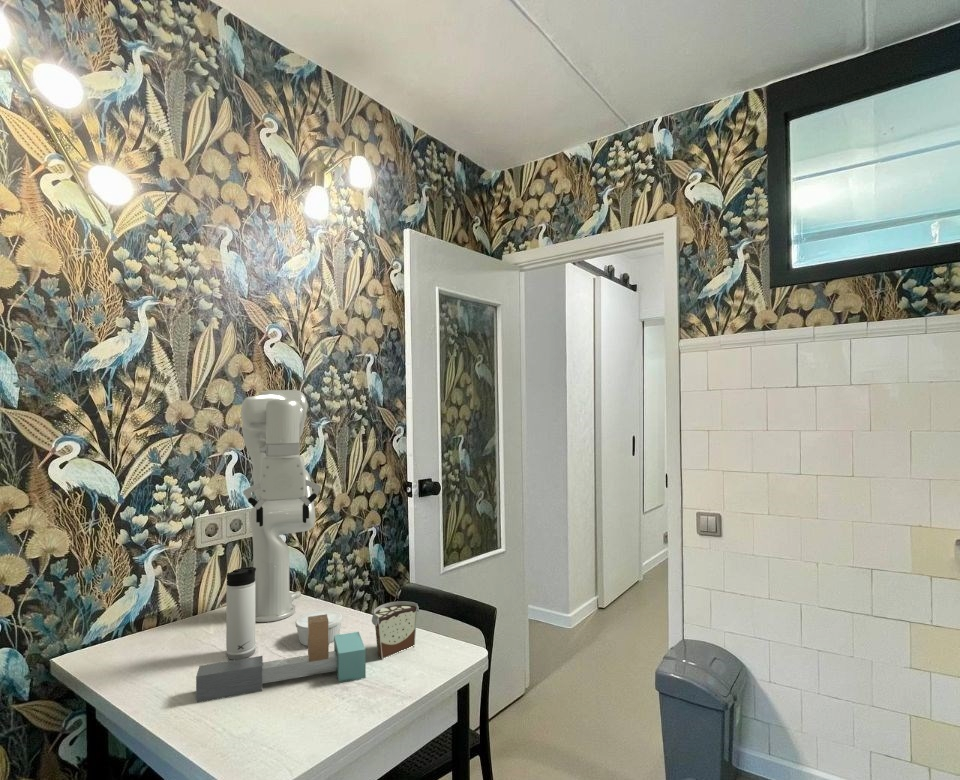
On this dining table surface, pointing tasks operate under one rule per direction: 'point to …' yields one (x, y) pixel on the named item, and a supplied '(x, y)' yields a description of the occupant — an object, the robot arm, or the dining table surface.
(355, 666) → the socket block
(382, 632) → the food container
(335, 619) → the ramekin
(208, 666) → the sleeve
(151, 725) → the dining table surface
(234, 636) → the travel mug
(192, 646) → the dining table surface
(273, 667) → the multicoloured piece
